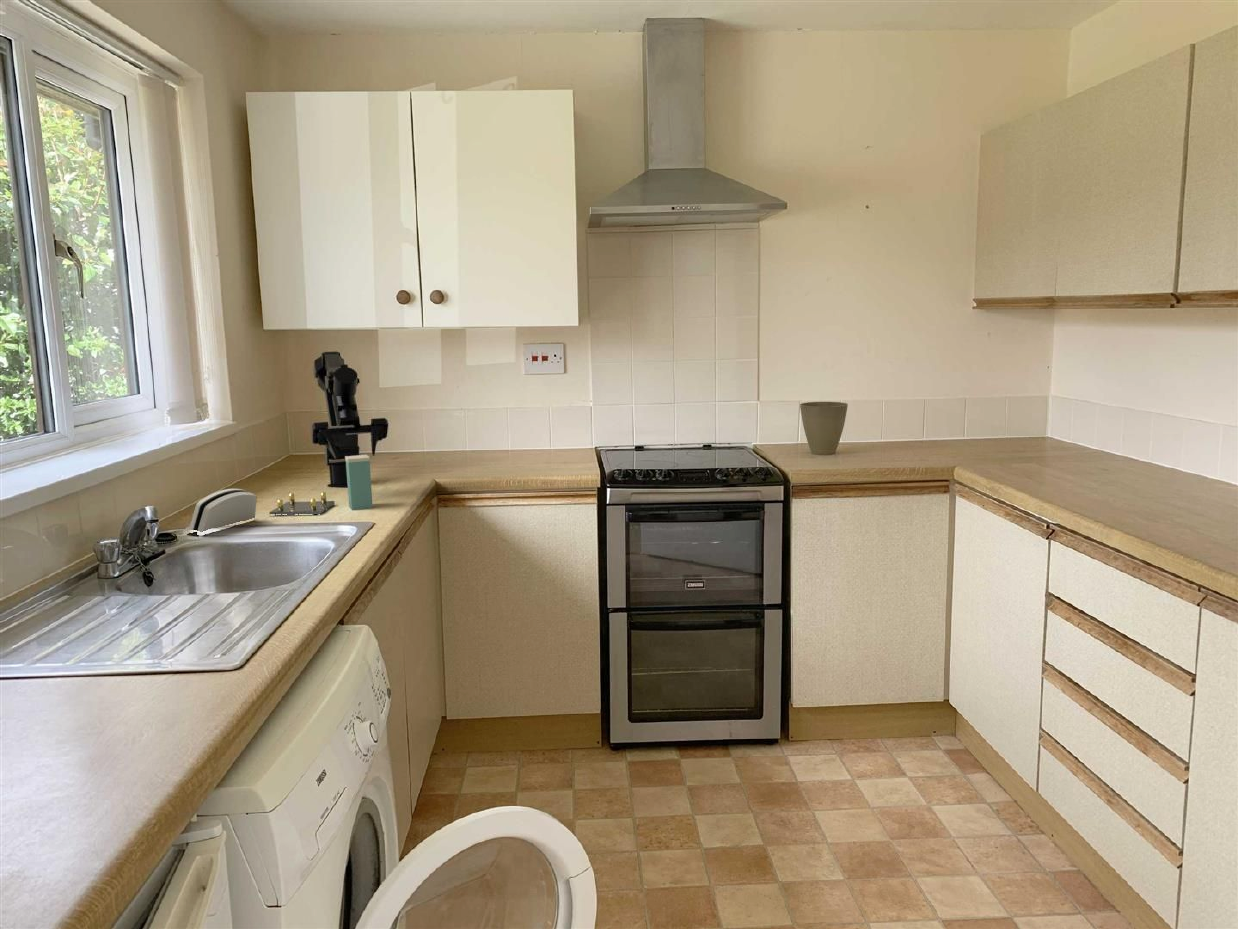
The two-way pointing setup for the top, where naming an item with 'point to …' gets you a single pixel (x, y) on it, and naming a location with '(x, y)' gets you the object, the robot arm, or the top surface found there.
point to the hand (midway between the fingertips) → (355, 456)
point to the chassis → (302, 506)
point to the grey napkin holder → (223, 509)
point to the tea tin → (359, 482)
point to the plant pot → (823, 425)
